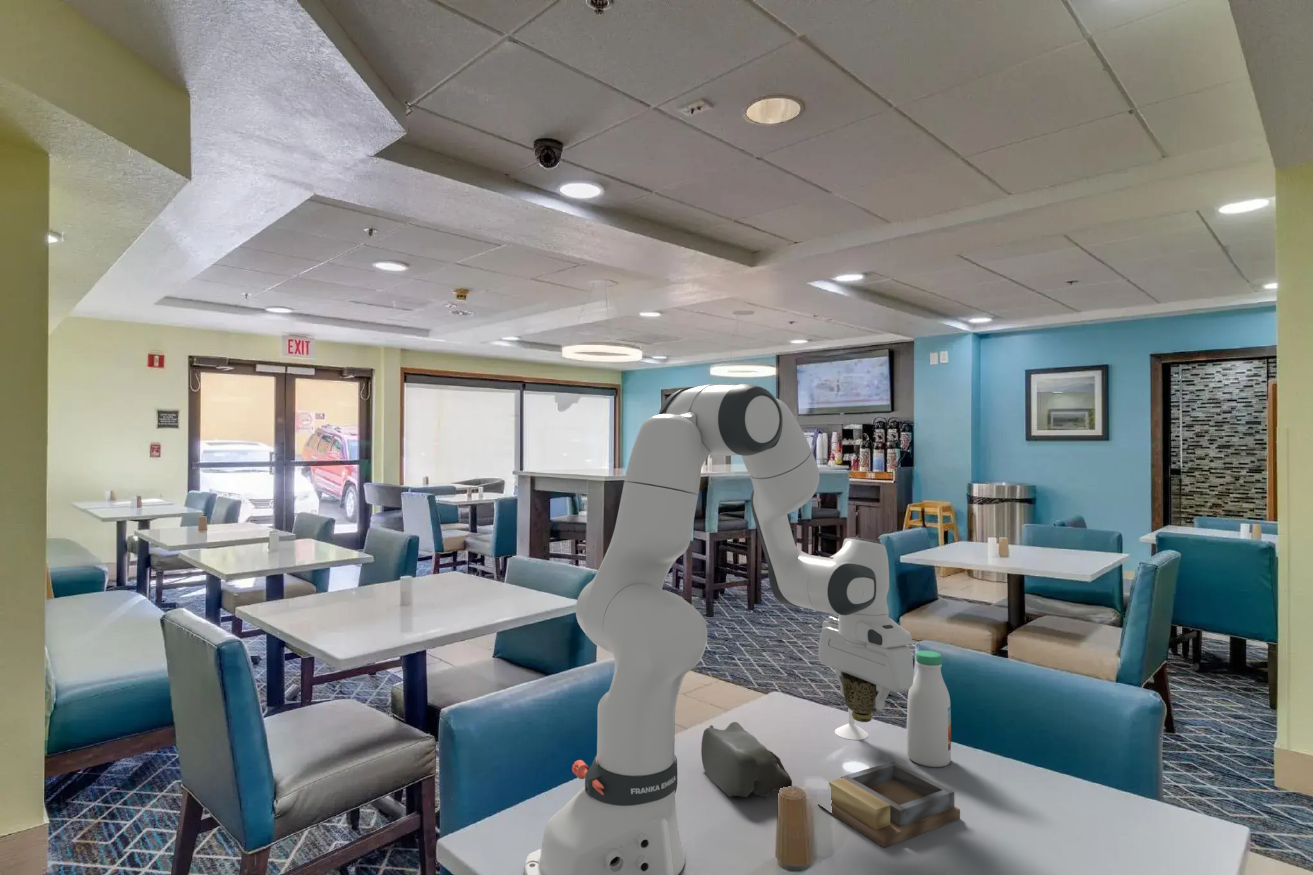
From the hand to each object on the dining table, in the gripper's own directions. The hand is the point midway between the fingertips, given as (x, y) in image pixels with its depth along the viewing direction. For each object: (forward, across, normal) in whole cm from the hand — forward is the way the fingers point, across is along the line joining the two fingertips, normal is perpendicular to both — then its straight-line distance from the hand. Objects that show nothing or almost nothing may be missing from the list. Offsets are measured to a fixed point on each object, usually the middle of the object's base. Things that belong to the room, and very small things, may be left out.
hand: (861, 701), depth 128 cm
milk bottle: (+12, +3, +15) cm, 19 cm away
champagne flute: (+12, -13, +11) cm, 21 cm away
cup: (+3, 0, 0) cm, 3 cm away
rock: (+13, -7, -21) cm, 26 cm away
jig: (+12, +13, -7) cm, 19 cm away
